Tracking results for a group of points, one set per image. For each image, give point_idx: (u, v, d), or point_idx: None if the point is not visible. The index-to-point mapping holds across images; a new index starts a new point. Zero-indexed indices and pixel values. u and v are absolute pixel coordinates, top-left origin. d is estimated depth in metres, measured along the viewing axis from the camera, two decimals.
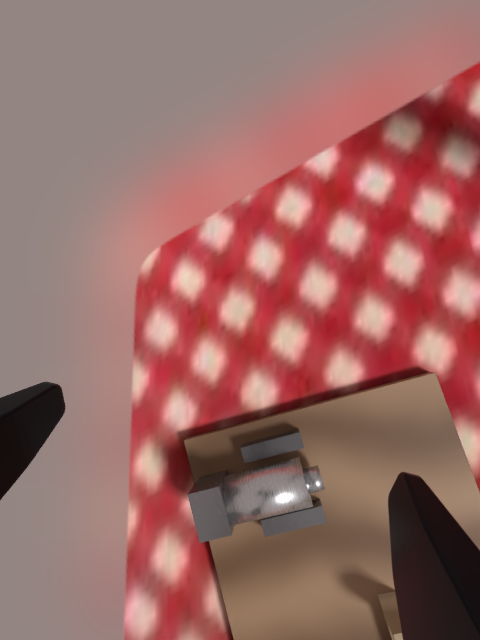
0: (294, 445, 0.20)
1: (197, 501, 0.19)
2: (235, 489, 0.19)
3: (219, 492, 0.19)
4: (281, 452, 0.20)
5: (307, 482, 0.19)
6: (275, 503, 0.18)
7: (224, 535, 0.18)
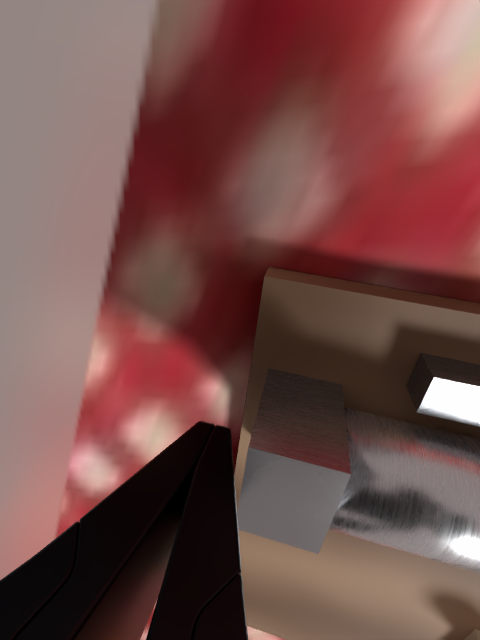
0: None
1: (268, 471, 0.06)
2: (385, 487, 0.06)
3: (344, 484, 0.06)
4: None
5: None
6: None
7: (300, 547, 0.07)
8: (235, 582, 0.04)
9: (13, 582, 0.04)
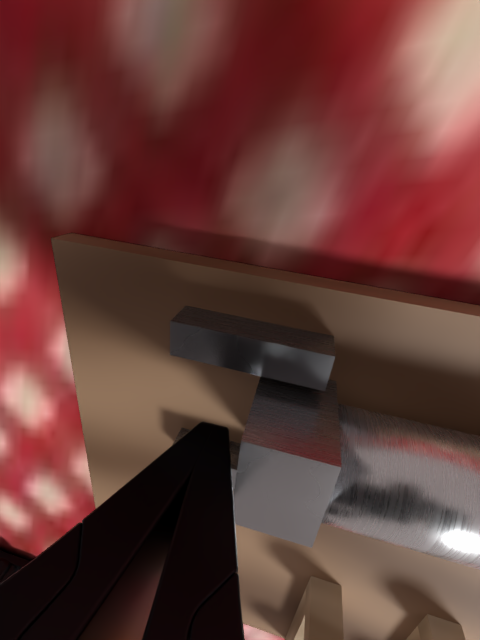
0: (303, 376, 0.08)
1: (260, 464, 0.07)
2: (376, 481, 0.06)
3: (334, 477, 0.06)
4: (264, 374, 0.08)
5: None
6: (471, 560, 0.06)
7: (294, 540, 0.07)
8: (232, 581, 0.04)
9: (16, 583, 0.04)
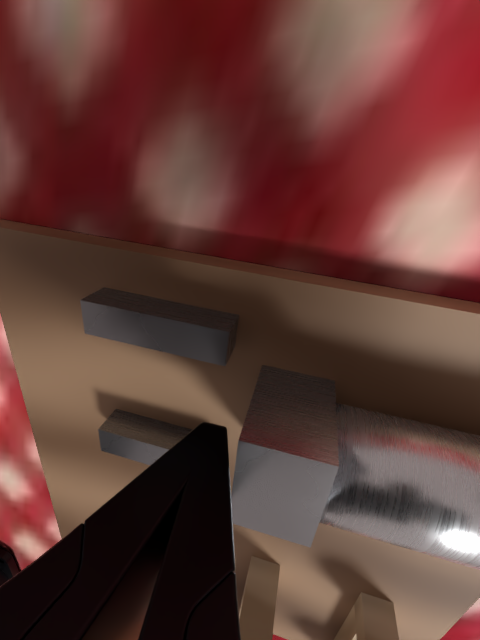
0: (204, 351, 0.08)
1: (258, 464, 0.07)
2: (374, 480, 0.06)
3: (332, 476, 0.06)
4: (170, 350, 0.08)
5: None
6: (470, 560, 0.06)
7: (292, 540, 0.07)
8: (228, 580, 0.04)
9: (18, 584, 0.04)
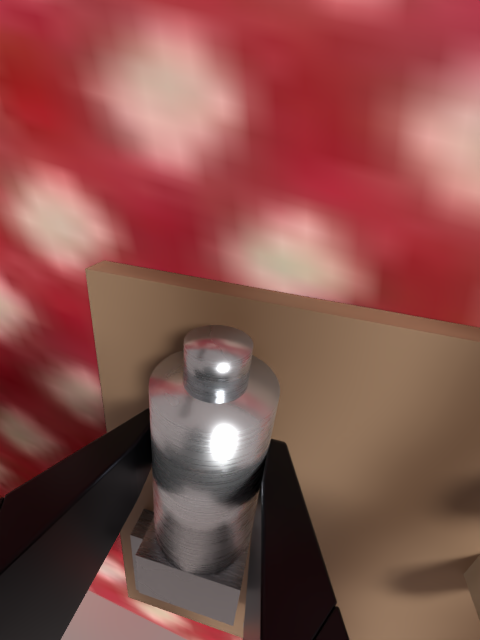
0: None
1: (155, 590, 0.09)
2: (158, 529, 0.08)
3: (146, 560, 0.08)
4: None
5: (199, 394, 0.06)
6: (203, 499, 0.07)
7: (235, 598, 0.08)
8: (335, 615, 0.04)
9: None
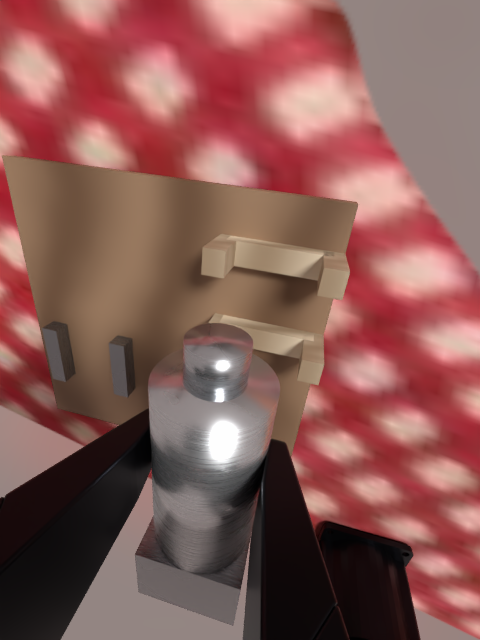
0: (53, 338, 0.20)
1: (155, 590, 0.09)
2: (158, 528, 0.08)
3: (146, 559, 0.08)
4: (59, 350, 0.20)
5: (198, 392, 0.06)
6: (203, 498, 0.06)
7: (235, 597, 0.08)
8: (335, 615, 0.04)
9: None
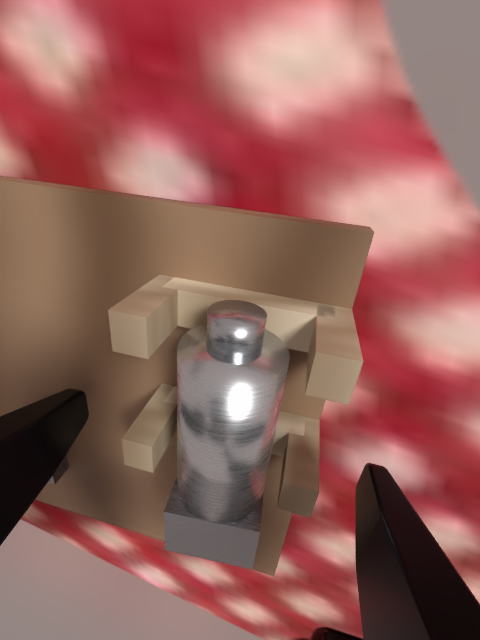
0: None
1: (181, 545, 0.10)
2: (184, 486, 0.09)
3: (174, 515, 0.09)
4: None
5: (223, 357, 0.07)
6: (229, 448, 0.08)
7: (255, 540, 0.09)
8: None
9: None
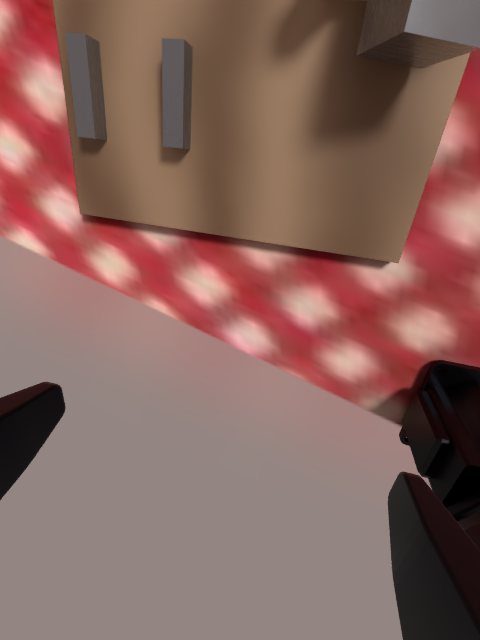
0: (81, 50, 0.14)
1: (425, 13, 0.09)
2: None
3: None
4: (88, 76, 0.14)
5: None
6: None
7: None
8: None
9: None
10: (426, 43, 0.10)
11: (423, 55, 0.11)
